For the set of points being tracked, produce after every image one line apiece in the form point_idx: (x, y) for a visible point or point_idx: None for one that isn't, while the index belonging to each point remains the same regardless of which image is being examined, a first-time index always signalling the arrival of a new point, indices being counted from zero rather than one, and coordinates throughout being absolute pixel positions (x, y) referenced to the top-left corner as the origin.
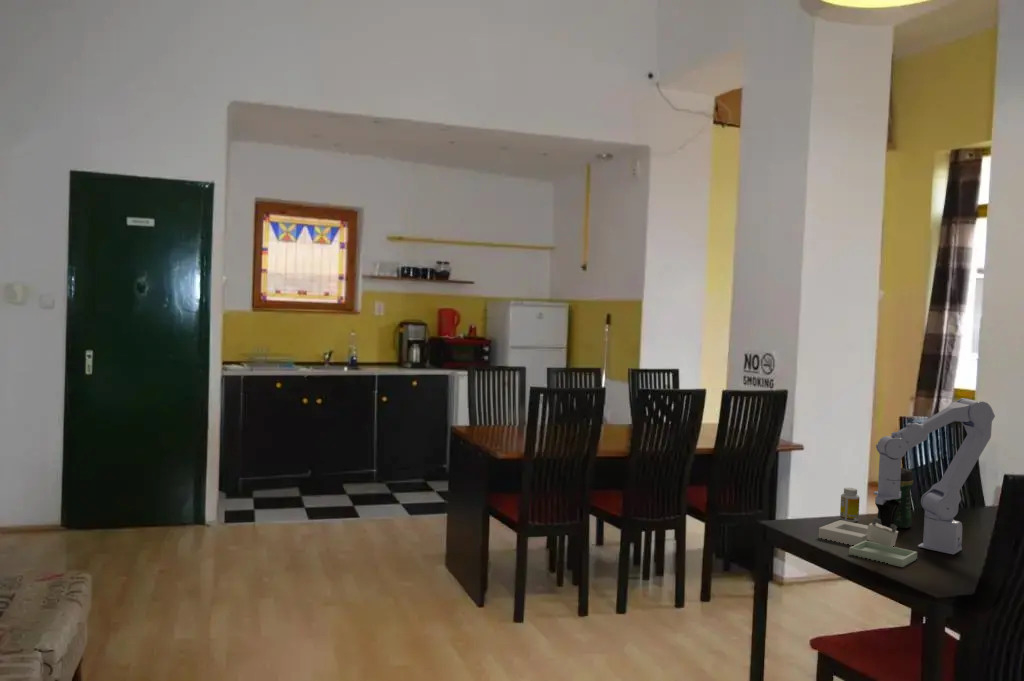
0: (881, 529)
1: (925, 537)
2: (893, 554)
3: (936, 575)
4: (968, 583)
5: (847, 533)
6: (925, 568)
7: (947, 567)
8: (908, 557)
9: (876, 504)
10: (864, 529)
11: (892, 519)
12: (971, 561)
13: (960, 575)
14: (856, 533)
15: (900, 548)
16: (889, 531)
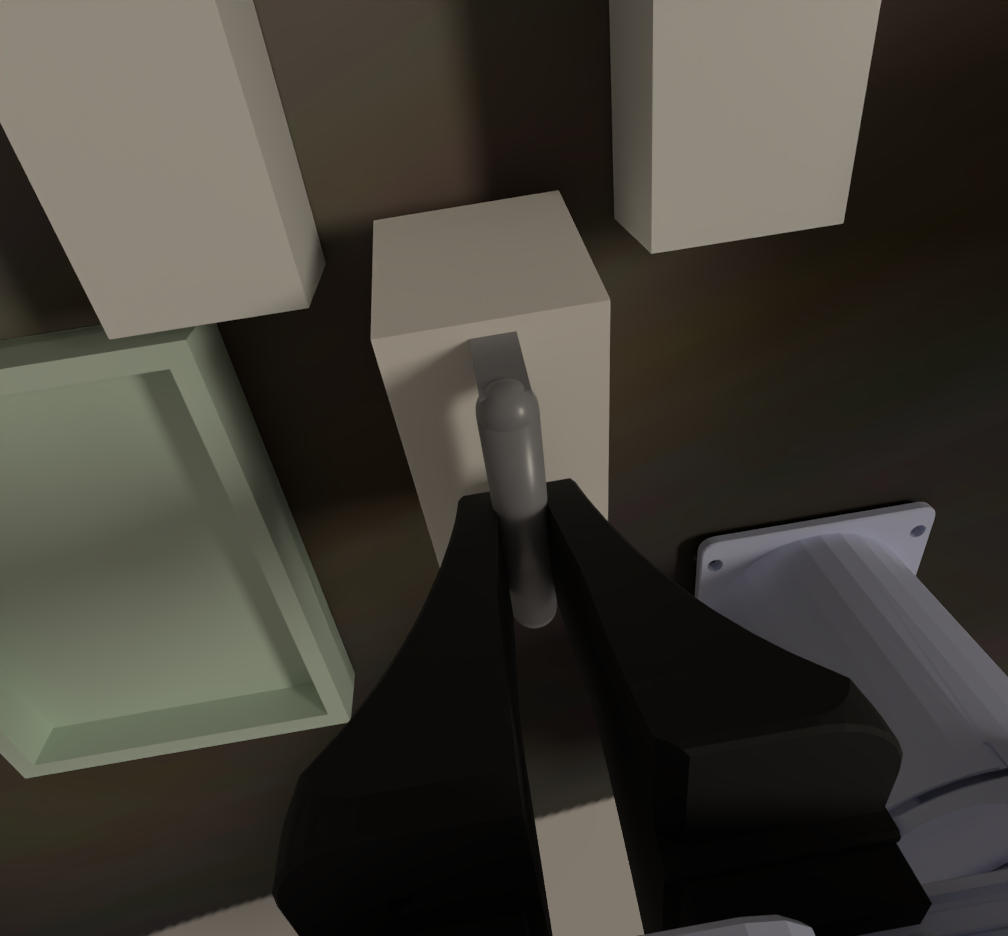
0: (418, 484)
1: (770, 628)
2: (221, 599)
3: (151, 837)
4: (207, 913)
5: (23, 89)
6: (210, 771)
7: None
8: (152, 751)
9: (305, 787)
10: (645, 53)
11: (573, 637)
12: None
13: None
14: (201, 178)
15: (306, 638)
16: None
